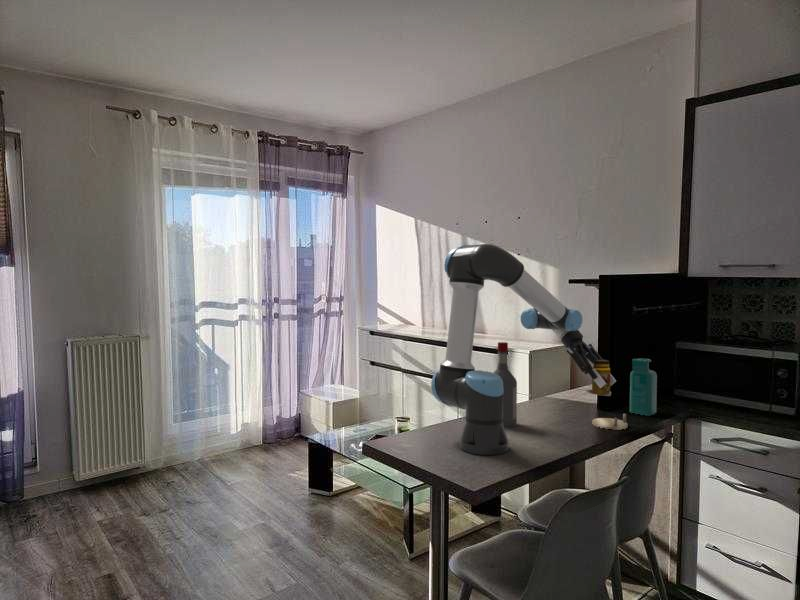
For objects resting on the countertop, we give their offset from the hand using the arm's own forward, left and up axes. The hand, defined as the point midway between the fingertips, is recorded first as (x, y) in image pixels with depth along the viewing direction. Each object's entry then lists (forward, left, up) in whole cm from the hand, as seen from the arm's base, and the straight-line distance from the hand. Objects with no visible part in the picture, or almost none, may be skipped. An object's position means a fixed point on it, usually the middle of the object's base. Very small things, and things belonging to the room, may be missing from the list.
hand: (608, 384), depth 186 cm
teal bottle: (+23, +23, -16) cm, 36 cm away
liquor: (-36, +6, -16) cm, 40 cm away
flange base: (+3, +5, -16) cm, 17 cm away
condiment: (-3, +3, -4) cm, 5 cm away
